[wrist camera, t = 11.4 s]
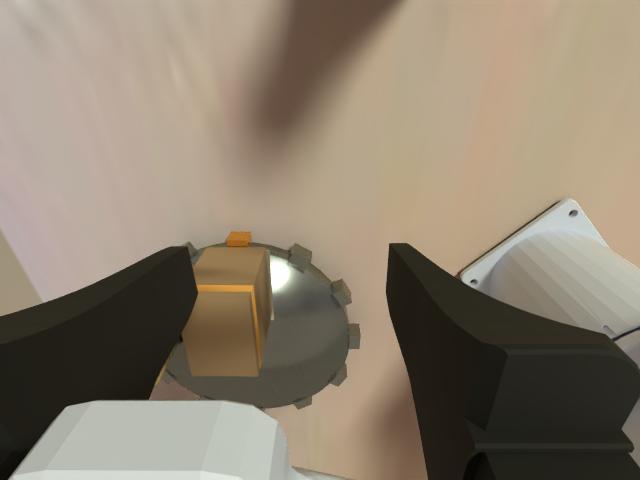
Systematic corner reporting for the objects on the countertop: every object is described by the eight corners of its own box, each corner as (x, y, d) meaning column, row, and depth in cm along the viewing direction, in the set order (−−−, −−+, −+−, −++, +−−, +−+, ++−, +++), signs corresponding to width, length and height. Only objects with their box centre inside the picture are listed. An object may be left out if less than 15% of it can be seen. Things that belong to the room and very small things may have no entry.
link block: (271, 315, 22) (258, 376, 18) (218, 314, 22) (191, 376, 18) (266, 247, 20) (249, 298, 16) (206, 247, 20) (172, 297, 16)
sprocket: (352, 403, 28) (357, 462, 24) (165, 399, 28) (137, 457, 24) (365, 233, 21) (375, 274, 17) (117, 229, 21) (65, 269, 17)
